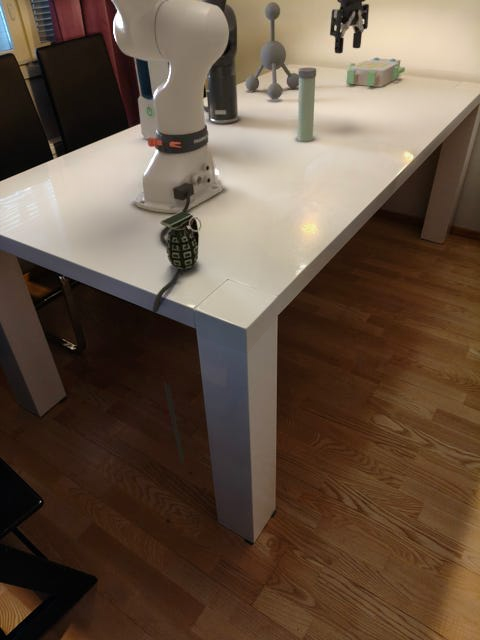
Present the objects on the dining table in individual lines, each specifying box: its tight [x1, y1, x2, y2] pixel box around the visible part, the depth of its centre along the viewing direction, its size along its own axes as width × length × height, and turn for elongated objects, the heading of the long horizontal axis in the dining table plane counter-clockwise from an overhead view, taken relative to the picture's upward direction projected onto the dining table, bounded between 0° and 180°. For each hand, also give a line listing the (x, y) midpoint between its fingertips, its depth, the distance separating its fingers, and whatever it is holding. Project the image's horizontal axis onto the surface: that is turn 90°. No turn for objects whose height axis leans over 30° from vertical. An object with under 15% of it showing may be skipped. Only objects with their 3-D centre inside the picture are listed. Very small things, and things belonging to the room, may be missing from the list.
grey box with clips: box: [346, 57, 406, 88], centre depth 197 cm, size 26×6×20 cm
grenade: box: [159, 211, 202, 271], centre depth 88 cm, size 7×6×10 cm
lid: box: [297, 67, 317, 78], centre depth 135 cm, size 5×5×2 cm
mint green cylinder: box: [297, 76, 316, 143], centre depth 140 cm, size 4×4×18 cm
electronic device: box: [133, 57, 170, 140], centre depth 143 cm, size 12×8×30 cm, turn 47°
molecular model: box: [245, 1, 299, 100], centre depth 182 cm, size 24×22×30 cm
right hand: (347, 50), depth 136 cm, fingers open, 8 cm apart
